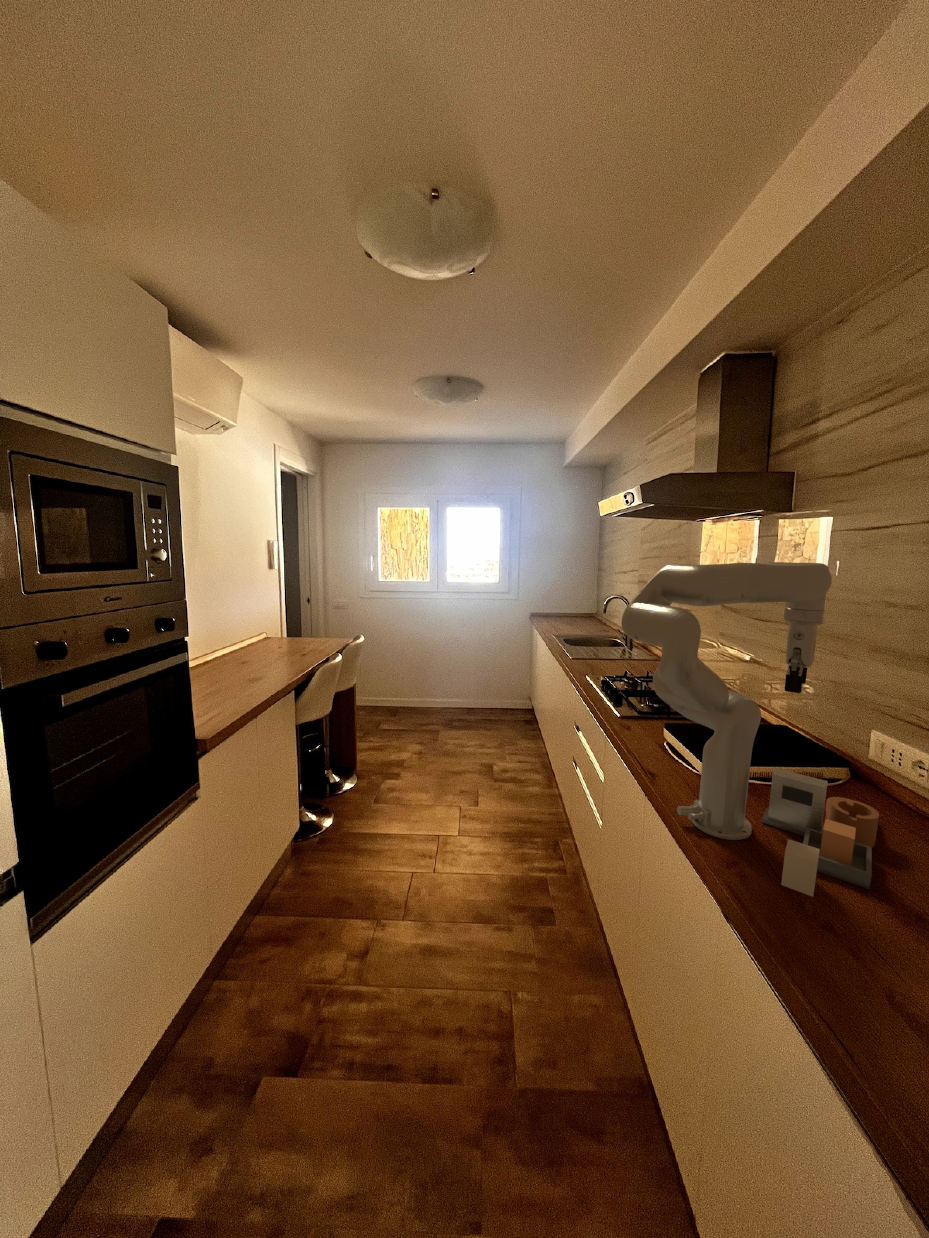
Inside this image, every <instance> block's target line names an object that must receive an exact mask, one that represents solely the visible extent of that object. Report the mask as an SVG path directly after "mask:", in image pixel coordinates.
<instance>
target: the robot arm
mask: <svg viewBox="0 0 929 1238" xmlns="http://www.w3.org/2000/svg"><path fill="white" fill-rule="evenodd" d="M832 580H833V578H832V575H831V572H830V569H829V567H828V565H827V564H825V563H820V562H787V561H786V562H784V561H783V562H781V561H773V562H768V563H759V562H757V563H756V562H733V563H719V564H717V563H715V564H714V563H713V564H711V563H710V564H689V563H669V564H667V565H664V566H663V567H661V568H660V569H659V570H658V571H657V572H656V573H655V574H653V576H652V577H651V578H650V579H649V580H648V581H647V582H646V583H645V584H644V586H643V587H642V588H641V589H640V590H639V591H638V593H637V594H636V595H635V596H634V597H633V598H632V599H631V601H630V602H629V603H628V604H627V606H626V607H625V609H624V611H623V613H622V617H621V623H620V624H621V628H622V631H623V634H625V635H626V636H627V637H628V638H629V639H632V640H633V641H636V642H640V643H644V644H648V645H651V646H654V647H659V648H661V654H660V660H659V663H658V666H657V668H655V671H654V672H653V676H652V686H653V689H654V691H655V694H656V695H657V696H658V698H659V699H661V700H662V701H663V702H664V703H666V704H667V705H668V706H669V707H671V708H672V709H674V710H675V711H676V712H677V713H678V714H680V715H682V716H683V717H684V718H685V719H687V720H690V721H692V722H695V723H696V724H699V725H702V726H704V727H706V728H709V729H711V730H713V731H714V733H713V735H712V736H711V737H710V738H709V739H708V740H707V741H706V743H705V744H704V746H703V749H702V759H701V760H702V761H701V771H700V772H701V774H700V785H699V794H698V799H694V802H693V804H690V805H689V806H686V805H677V807H676V811H677V814H678V815H679V816H687V818H688V820H690V821H691V823H692V824H693V825H694V827H696V828H697V829H698V830H700V831H701V832H703V833H705V834H707V835H709V836H712V837H715V838H718V839H722V840H728V841H738V840H739V841H740V840H744V839H748V838H749V837H750V836H751V835H752V831H753V827H752V824H751V822H750V821H749V820H748V819H747V818H746V813H747V811H746V809H747V802H748V801H747V800H748V792H749V791H748V790H749V782H750V772H751V771H750V770H751V762H752V761H751V760H752V753H753V747H754V742H755V738H756V735H757V732H758V729H759V727H760V724H761V720H762V712H761V708H760V706H759V705H758V704H757V702H756V701H755V700H753V699H752V698H750V697H749V696H746V695H744V694H742V693H739V692H737V691H734V690H730V689H729V688H728V686H727V684H726V683H725V681H724V679H722V678H721V677H720V676H719V675H718V674H717V673H716V672H714V671H713V670H712V669H711V668H710V667H709V666H708V665H706V664H705V663H704V662H703V661H702V660H701V659H700V658H699V657H698V656H699V655H698V654H699V647H700V641H701V636H702V630H701V625H700V622H699V619H698V618H697V617H696V615H694V614H693V613H692V612H691V611H689V610H688V609H685V608H682V607H678V606H671V605H672V604H673V603H674V604H679V605H680V604H681V605H686V606H687V605H688V606H695V607H712V606H724V605H732V604H733V605H734V604H743V603H744V604H746V603H748V604H750V603H751V604H754V603H755V604H758V603H759V604H763V603H785V605H784V614H783V622H784V623H788V630H787V639H786V650H785V664H787V672H786V674H785V681H784V691H785V692H789V693H794V694H795V693H796V694H801V693H802V690H803V689H802V688H803V685H805V684H806V683H807V675H808V668H810V667H812V666H813V663H814V661H815V654H816V653H815V651H816V642H817V629H818V626H820V625H823V621H824V616H825V615H824V613H825V606H826V598H827V593H828V591H830V588H831V586H832V583H833V581H832Z"/></svg>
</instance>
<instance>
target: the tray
mask: <svg viewBox="0 0 929 1238" xmlns="http://www.w3.org/2000/svg"><path fill="white" fill-rule="evenodd" d="M822 834H823V832H820V831H817V830H814V829H811V828H806V832H805V836H803V842H802V844H805V845H808V846H811V847H814V848H817V849H821V842H822ZM872 849H873V847H869V846H866V845H863V844H860V843H856V842H854V848H853V855H852V862H851V866H849V865H846V864H843V863H840V862H837V861H834V860H831V859H828V858H825V857H822V856H820V850H819V858H818V866H817V873H821V874H823V875H825V876H829V877H832V878H835V879H838V880H840V881H844V882H847V883H850V884H852V885H855V886H858V887H860V888H864V889H865V890H866V889H867V890H870V888H871V882H872V875H873V874H872V873H873V869H872V868H873V867H872V866H873V865H872V862H873V861H872V859H873V858H872V854H873V853H872V852H873V851H872Z"/></svg>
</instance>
